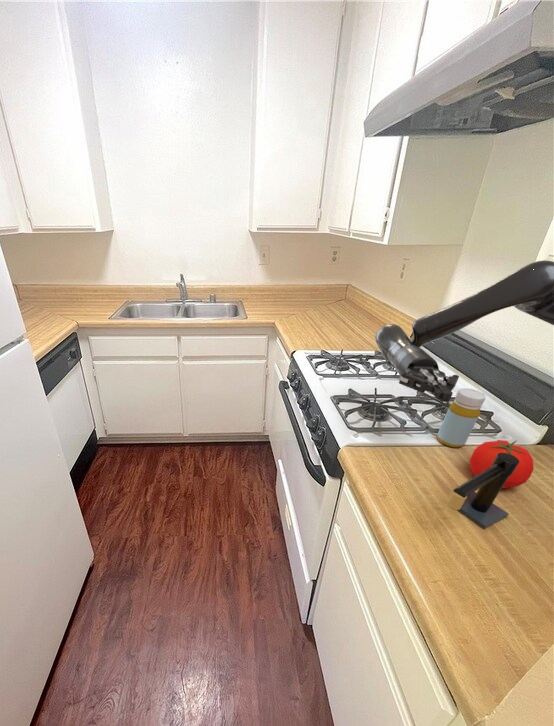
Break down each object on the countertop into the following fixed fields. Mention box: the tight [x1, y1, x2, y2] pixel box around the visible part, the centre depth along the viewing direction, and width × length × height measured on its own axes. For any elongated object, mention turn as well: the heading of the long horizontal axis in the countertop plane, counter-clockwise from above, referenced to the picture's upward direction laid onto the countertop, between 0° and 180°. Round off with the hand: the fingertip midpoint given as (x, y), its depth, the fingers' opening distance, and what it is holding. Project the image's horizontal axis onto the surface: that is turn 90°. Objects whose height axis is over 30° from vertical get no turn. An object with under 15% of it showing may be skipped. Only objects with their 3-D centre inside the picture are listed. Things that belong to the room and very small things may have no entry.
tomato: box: [469, 439, 534, 489], centre depth 80 cm, size 12×12×10 cm
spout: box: [446, 453, 519, 511], centre depth 65 cm, size 18×4×5 cm, turn 122°
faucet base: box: [457, 474, 510, 530], centre depth 72 cm, size 8×8×11 cm
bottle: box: [436, 387, 487, 449], centre depth 93 cm, size 7×7×15 cm
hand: (446, 397), depth 70 cm, fingers closed
